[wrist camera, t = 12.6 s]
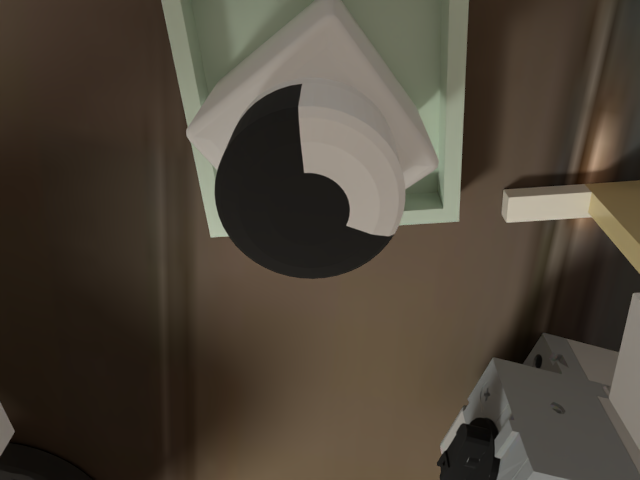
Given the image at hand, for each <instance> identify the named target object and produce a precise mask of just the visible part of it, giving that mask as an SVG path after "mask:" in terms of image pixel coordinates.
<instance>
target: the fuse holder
mask: <svg viewBox="0 0 640 480" xmlns="http://www.w3.org/2000/svg"><path fill="white" fill-rule="evenodd" d="M502 216H503V218H504V219H505V221H506V223H509V222H525V221H540V220H556V219H572V218H588V217H592V218H593V219H594V220H595V221H596V223H597V224H598V225H599V226H600V227H601V228H602V230H603V231H604V232H605V233H606V234H607V236H608V237H609V238H610V239H611V240H612V242H613V243H614V244H615V245H616V246H617V248H618V249H619V250H620V251H621V252H622V253H623V255H624V256H625V257H626V258H627V259H628V261H629V262H630V263H631V264H632V265H633V267H634V268H635V269H636V270H637V271H638V273H639V274H640V180H637V181H622V182H607V183H592V184H577V185H563V186H548V187H533V188H518V189H504V191H503V203H502Z"/></svg>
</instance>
